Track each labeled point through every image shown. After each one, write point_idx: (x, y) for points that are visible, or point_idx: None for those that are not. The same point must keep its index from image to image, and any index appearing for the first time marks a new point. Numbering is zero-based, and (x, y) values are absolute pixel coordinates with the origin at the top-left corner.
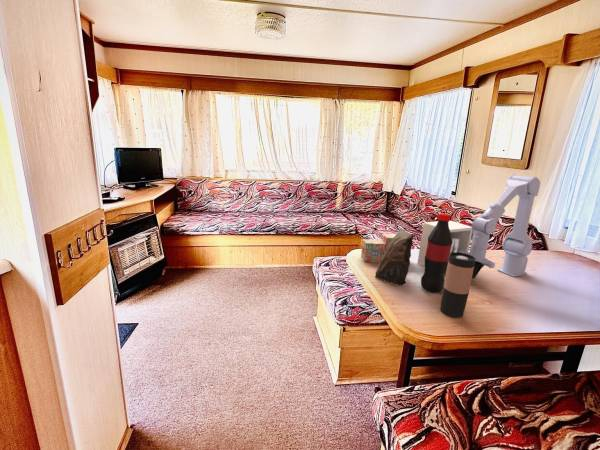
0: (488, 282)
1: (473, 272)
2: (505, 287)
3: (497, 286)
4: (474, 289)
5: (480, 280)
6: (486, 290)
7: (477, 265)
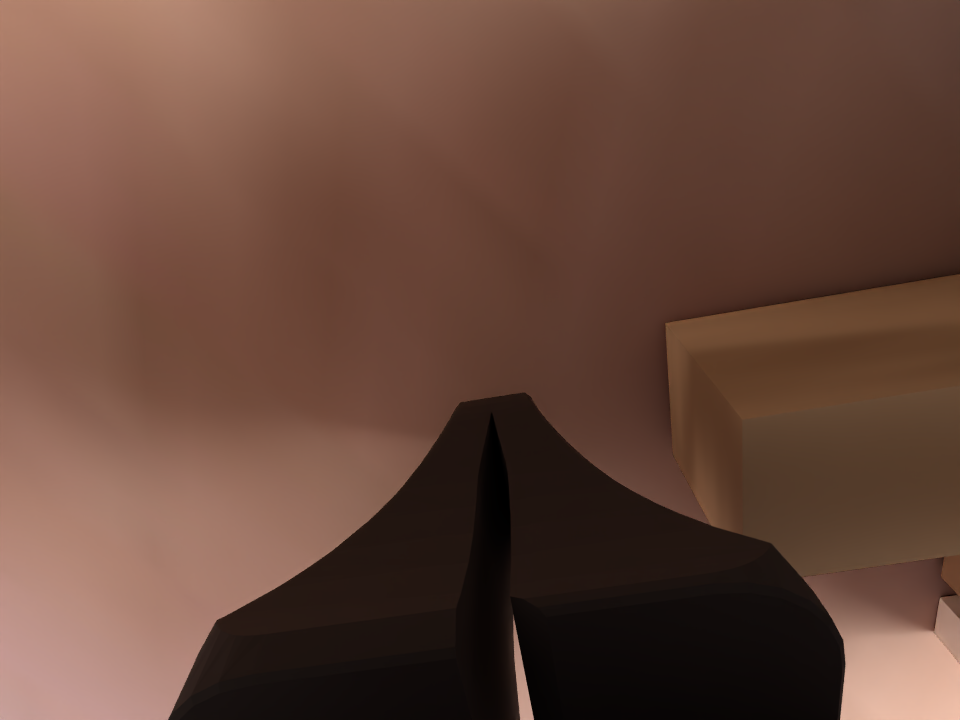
0: None
1: (421, 474)
2: None
3: None
4: (74, 126)
5: None
6: (50, 354)
7: (182, 703)
